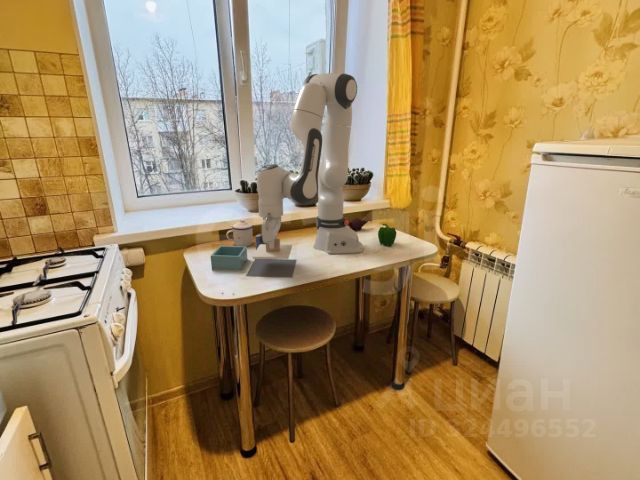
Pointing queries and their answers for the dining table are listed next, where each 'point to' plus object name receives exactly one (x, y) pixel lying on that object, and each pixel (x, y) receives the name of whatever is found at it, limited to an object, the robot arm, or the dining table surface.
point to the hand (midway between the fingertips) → (273, 245)
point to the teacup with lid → (242, 234)
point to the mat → (272, 268)
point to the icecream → (356, 224)
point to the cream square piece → (273, 251)
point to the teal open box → (229, 258)
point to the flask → (259, 240)
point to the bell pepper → (386, 235)
